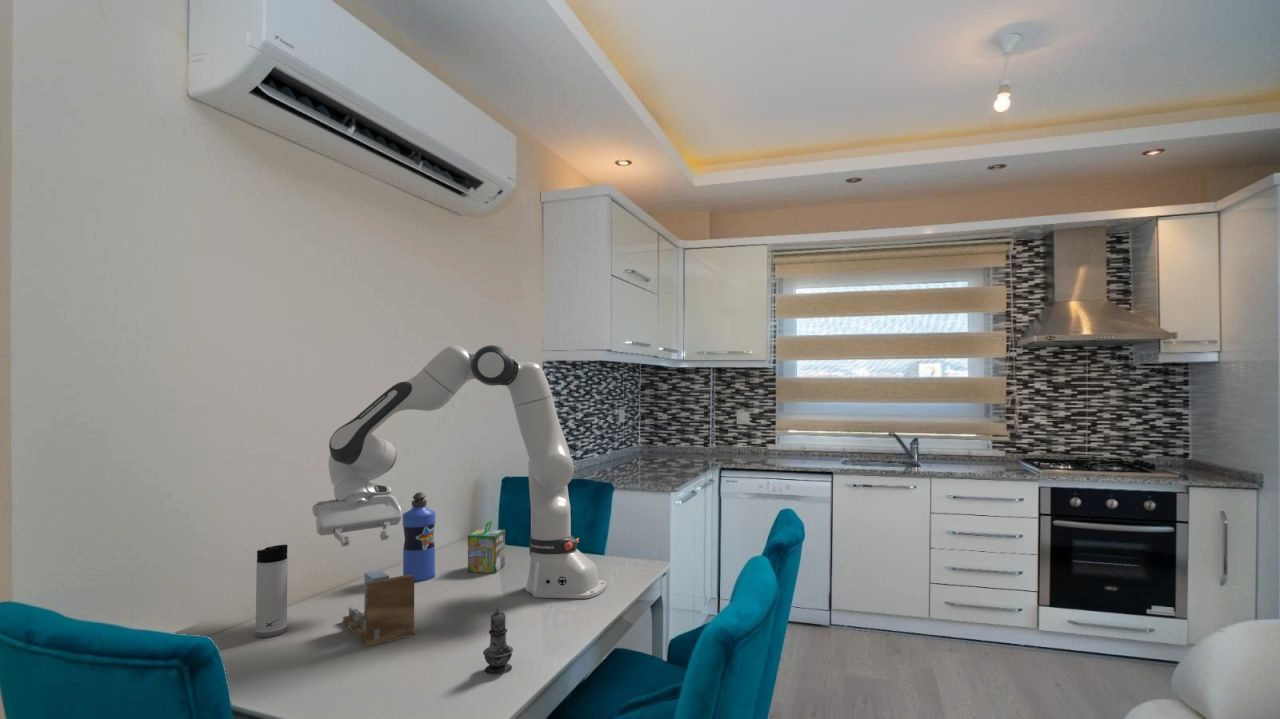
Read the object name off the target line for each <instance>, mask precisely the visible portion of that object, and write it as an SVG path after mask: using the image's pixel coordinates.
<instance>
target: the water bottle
mask: <svg viewBox="0 0 1280 719" xmlns="http://www.w3.org/2000/svg"><path fill="white" fill-rule="evenodd" d="M426 498H427V496H426V495H425V493H423V492H416V493H415V494H414V495H413V496H412V500H411V508H410V510H408V511H406V512H404V513H402V527H403V534H404V543H403V548H402V549H403V550H402V552H403V553H402V576H404V575H409V574H412V575H414V583H418V582H425V581H429V580H432V579H434V578H435V577H436V547H435V539H434V533H435V528H436V526H435V525H436V511H435V510H433V509H430V508H428V507H427V503H428V502H427V499H426Z"/></svg>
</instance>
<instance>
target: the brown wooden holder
mask: <svg viewBox="0 0 1280 719" xmlns="http://www.w3.org/2000/svg"><path fill="white" fill-rule="evenodd" d="M342 618H343V619H342V621H344V622H345V623H346V624H347V625H348V626H349V627H350V628H351V629H352V630H353V631H354V632H355V633H356V634H357V635H356V634H355V633H354V632H353V631H352V630H351V629H350V628H349V627H348V626H347V625H346V624H345V623H344V622H343V623H344V624H345V625H346V626H347V627H348V628H349V629H350V630H351V631H352V632H353V633H354V634H355V635H356V636H357V637H358V638H359V639H360V640H361V641H362V642H363V643H364V644H365V643H366V644H365V645H366V646H367V647H373V646H376V645H379V644H378V643H380V644H384V643H387V642H386V641H388V642H390V641H389V640H392V641H395V640H394V639H396V640H398V639H397V638H400V639H403V638H402V637H404V638H407V637H406V636H408V637H410V636H409V635H412V636H415V582H414V575H412V574H409V575H404V576H403V575H399V576H393V577H389V578H388V579H383V580H378V581H372V582H367V583H366V617H365V616H364V611H363V612H361V611H360V610H358V609H357V608H356V607H355V606H353V605H352V606H349V607H348V615H345V616H343V617H342ZM383 642H384V643H383ZM375 644H376V645H375Z"/></svg>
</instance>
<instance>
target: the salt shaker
mask: <svg viewBox="0 0 1280 719" xmlns="http://www.w3.org/2000/svg"><path fill="white" fill-rule="evenodd" d="M507 633H508V629H507V628H506V614H505V613H504V611H500V608H499V607H497V608H496V611H495V612H494V613H492V614H491V616H490V630H489V631H488V634H489V636H490V637H489V638H490V639H489V640H490V643H489V646H488V647H486V648H485V649H484V650H483V651H482V654H483V655H484V659H485V661H486V663H487V664H488V665H487V666H485V668H484V672H485V674H487V675H490V676H500V675H504V674H507V673H509V672H510V671H512V669H513V667H512V664H510V663H508V662H509V661H510V660H511V658H512V656H513V655H512V654H513V652H514V648H513V647H512V646H511V645H508V643H507Z"/></svg>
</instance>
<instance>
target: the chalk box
mask: <svg viewBox="0 0 1280 719" xmlns="http://www.w3.org/2000/svg"><path fill="white" fill-rule="evenodd" d="M492 522H493V520H492V519H491V520H489V521H487V522H486V524H485V528H477V529H476V530H474V531H472V532H471V533H470V534H469V535H467V573H472V574H473V573H477V574H480V573H481V574H496V573H497V572H498V571H500V570H502V568H504V567H505V565H506V562H505V561H506V558H505V556H506V553H505V552H506V549H505V548H506V529H496V528H495V529H494V528H493V529H492Z"/></svg>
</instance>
